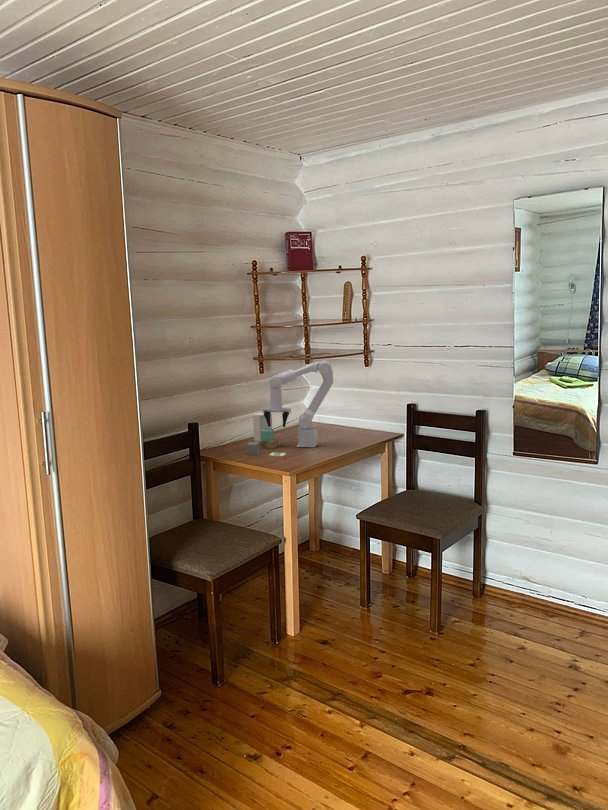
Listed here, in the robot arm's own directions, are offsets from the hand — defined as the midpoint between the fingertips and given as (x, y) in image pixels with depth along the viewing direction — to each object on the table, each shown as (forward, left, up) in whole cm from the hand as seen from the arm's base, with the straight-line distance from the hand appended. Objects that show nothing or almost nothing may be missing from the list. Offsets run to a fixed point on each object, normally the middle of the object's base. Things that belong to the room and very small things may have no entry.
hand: (276, 426), depth 328 cm
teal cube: (+4, +3, -6) cm, 8 cm away
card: (-5, +18, -10) cm, 21 cm away
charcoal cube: (+7, +17, -10) cm, 21 cm away
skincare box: (+10, -9, -10) cm, 17 cm away
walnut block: (+4, +3, -10) cm, 11 cm away
